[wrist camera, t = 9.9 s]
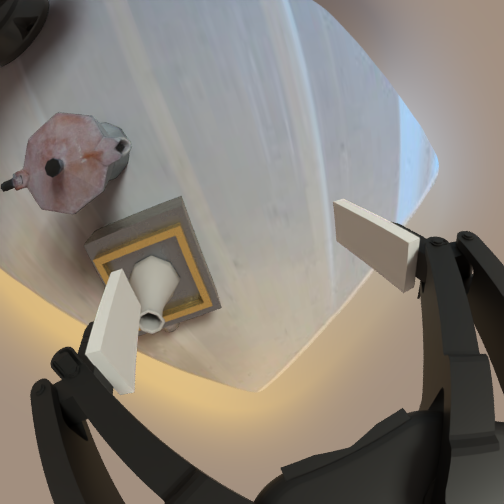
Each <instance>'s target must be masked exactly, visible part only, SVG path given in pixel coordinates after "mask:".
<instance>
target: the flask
mask: <svg viewBox="0 0 504 504" xmlns="http://www.w3.org/2000/svg"><path fill="white" fill-rule="evenodd" d="M179 281H180V277H179V276H178V274H177V272H176V271H175V269H174V268H173V266H172V265H171V263H170V262H167V261H164V260H162V259H159V258H157V257H154V256H152V255H151V256H149V257H147V258H145V259H143V260H142V261H140V262H138V263H136V264H135V265H134V267H133V269H132V272H131V275H130V277H129V280H128V282H129V284H130V286H131V288H132V290H133V291H134V293H135V295H136V297H137V299H138V301H139V303H140V305H141V312H140V321H139V328H140V329H141V330H142V331H144V332H147V333H150V334H154V333H156V332H158V331H160V330H162V327H163V325H164V323H165V319H164V318H163V317H162V314H163V309H164V307H165V305H166V304H167V302H168V301H169V300H170V298H171V297H172V296H173V294H174V292H175V289H176V287H177V285H178V283H179Z"/></svg>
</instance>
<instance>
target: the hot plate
mask: <svg viewBox="0 0 504 504" xmlns="http://www.w3.org/2000/svg"><path fill="white" fill-rule="evenodd" d="M84 247H85V249H86V251H87V253H88V255H89V257H90V259H91V261H92V263H93V265H94V267H95V269H96V271H97V273H98V275H99V276H100V278H101V280H102V282H103V284H104V285H105V287H106V285H107V282H108V279H109V277H110V274H111V272H114V271H117V270H120V269H123V271H124V273H125V275H126V277H127V279H128V280H129V277H130V275H131V272H132V269H133V267H134V265H135V264H136V263H138V262H140V261H142V260H143V259H145V258H147V257H149V256H151V255H152V256H154V257H157V258H159V259H162V260H164V261H167V262H170V263H171V265H172V266H173V268H174V269H175V271H176V272H177V274H178V276H179V277H180V281H179V283H178V285H177V287H176V289H175V292H174V294H173V296H172V297H171V298H170V300H169V301H168V302H167V304H166V305H165V307H164V309H163V314H162V317H163V318H164V319H165V323H164V325H163V327H162V328H163V329H164V331H166V332H172V331H174V330H176V329H177V328H178V327H179V324H180V322H183V321H185V320H188V319H191V318H194V317H197V316H200V315H203V314H206V313H209V312H211V311H214V310H217V309H220V308H222V307H221V304H220V300H219V297H218V293H217V290H216V287H215V284H214V282H213V279H212V277H211V274H210V272H209V269H208V267H207V264H206V261H205V259H204V256H203V254H202V251H201V248H200V246H199V243H198V240H197V238H196V235H195V232H194V230H193V227H192V224H191V221H190V219H189V216H188V213H187V210H186V207H185V205H184V202H183V199H182V196H180V197H177V198H174V199H172V200H169V201H166V202H164V203H161V204H159V205H156V206H153V207H151V208H148V209H146V210H143V211H141V212H138V213H136V214H133V215H131V216H129V217H126V218H124V219H121V220H119V221H117V222H114V223H112V224H110V225H107V226H105V227H103V228H101V229H98V230H96V231H94V233H93V234H92V235H91V237H90V238H89V239H88V241H87V242H86V243H85V245H84ZM146 333H147V332H144V331H142V330H141V329H140V328H139V330H138V336H140V335H143V334H146Z"/></svg>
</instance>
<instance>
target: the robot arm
mask: <svg viewBox="0 0 504 504" xmlns="http://www.w3.org/2000/svg"><path fill="white" fill-rule="evenodd" d="M48 10H49V2H48V0H0V66H3V65H6V64H8V63H9V62H11V61H13V60H14V59H15V58H17V57H18V56H19V55H20V54H21V53H22V52H23V51H24V50H25V49H26V48H27V47H28V46H29V45H30V44H31V43H32V41H33V40H34V39H35V37H36V36H37V35H38V33H39V32H40V30H41V28H42V26H43V24H44V22H45V20H46V18H47V15H48ZM333 206H334V216H335V227H336V239H337V242H339V243H340V244H341V245H343V246H344V247H345V248H347V249H348V250H349V251H351V252H352V253H353V254H355V255H356V256H357V257H359V258H360V259H361V260H363V261H364V262H365V263H366V264H368V265H369V266H370V267H372V268H373V269H374V270H376V271H377V272H378V273H379V274H381V275H382V276H383V277H384V278H386V279H387V280H388V281H389V282H391V283H392V284H393V285H394V286H396V287H397V288H398V289H399V290H401V291H402V292H403V293H404V292H406V291H408V290H410V289H411V288H413V287H414V284H415V277H417V278H418V279H420V280H421V281H420V287H419V293H418V299H419V298H420V296H421V307H422V321H423V349H424V365H423V367H424V368H423V393H422V401H421V405H420V408H419V411H414V412H410V413H406V411H405V410H404V409H403V408H402V409H400V410H399V411H397V412H396V413H394V414H392V415H391V416H389V417H388V418H386V419H384V420H383V421H381V422H379V423H378V424H376V425H375V426H374V427H373V428H372V429H371V430H370V431H369V432H368V433H367V434H365V435H364V436H363V437H362V438H361V439H360V440H358V441H357V442H356V443H355V444H354V445H352V446H351V447H349V448H345V449H341V450H337V451H333V452H328V453H323V454H318V455H313V456H311V457H308V458H306V459H303V460H301V461H298V462H295V463H293V464H290V465H287V466H284V467H281V470H282V473H283V474H281V475H279V476H278V477H276V478H275V479H274V480H272V481H271V482H270V483H269V484H267V485H266V486H265V487H264V489H263V490H262V491H261V492H260V493H259V495H258V496H257V497H256V499H255V501H254V502H253V501H251V500H249V499H247V498H245V497H243V496H242V495H240V494H238V493H236V492H234V491H233V490H231V489H229V488H227V487H226V486H224V485H222V484H221V483H219V482H218V481H216V480H214V479H213V478H211V477H209V476H208V475H207V474H205V473H204V472H202V471H201V470H199V469H198V468H197V467H195V466H193V465H192V464H191V463H189V462H188V461H187V460H185V459H184V458H183V457H181V456H180V455H179V454H177V453H176V452H175V451H173V450H172V449H171V448H170V447H168V446H167V445H166V444H165V443H163V442H162V441H161V440H160V439H159V438H158V437H156V436H155V435H154V434H153V433H152V432H151V431H149V430H148V429H147V428H146V427H145V426H144V425H143V424H142V423H141V422H140V421H138V420H137V419H136V418H135V417H134V416H133V415H132V414H131V413H130V412H129V411H128V410H127V409H126V408H125V407H124V406H123V405H122V404H121V403H120V402H119V401H118V400H117V399H116V398H115V397H114V396H113V388H114V389H115V390H116V391H117V392H118V393H119V394H120V395H123V394H128V393H133V392H135V370H136V353H137V341H138V330H139V321H140V312H141V305H140V303H139V301H138V299H137V297H136V295H135V293H134V291H133V290H132V288H131V286H130V284H129V282H128V279H127V277H126V275H125V273H124V271H123V269H120V270H117V271H114V272H111V274H110V277H109V279H108V282H107V285H106V288H105V291H104V293H103V296H102V299H101V302H100V305H99V308H98V311H97V314H96V318H95V321H94V322H90V323H89V325H88V326H87V328H86V329H85V331H84V334H83V339H82V341H81V345H80V347H79V351H78V354H77V353H76V352H75V350H74V349H73V348H71V347H65V348H62V349H60V350H59V351H58V352H57V353H56V354H55V355H54V356H53V358H52V360H51V368H52V369H53V370H54V371H55V372H56V374H57V375H58V376H59V377H60V378H61V379H62V380H61V381H59V382H57V383H55V384H52V383H51V382H50V381H49V380H47V379H40V380H39V381H37V382H36V383H35V384H34V385H33V387H32V390H31V394H30V396H31V406H32V414H33V422H34V428H35V434H36V439H37V444H38V449H39V454H40V458H41V462H42V466H43V470H44V473H45V477H46V480H47V484H48V487H49V490H50V493H51V496H52V499H53V501H54V504H125V502H124V501H123V499H122V498H121V496H120V494H119V492H118V490H117V488H116V487H115V485H114V483H113V481H112V479H111V478H110V475H109V473H108V471H107V469H106V467H105V465H104V463H103V461H102V459H101V456H100V454H99V452H98V450H97V447H96V445H95V442H94V440H93V438H92V435H91V433H90V430H89V427H88V424H87V422H86V419H89V420H90V422H91V423H92V424H93V426H94V427H95V428H96V430H97V431H98V432H99V434H100V435H101V436H102V437H103V439H104V440H105V441H106V442H107V443H108V445H109V446H110V447H111V448H112V449H113V450H114V451H115V453H116V454H117V455H118V456H119V457H120V458H121V459H122V461H123V462H124V463H125V464H126V465H127V466H128V467H129V468H130V469H131V470H132V471H133V472H134V473H135V474H136V475H137V476H138V477H139V478H140V479H141V480H142V481H143V482H144V483H145V484H146V485H147V486H148V487H149V488H150V489H152V490H153V491H154V492H155V493H156V494H157V495H158V496H159V497H160V498H161V499H163V500H164V502H165V504H504V422H497V421H495V414H494V397H493V386H492V377H491V370H490V364H489V359H488V356H487V355H486V354H480V353H479V348H478V342H477V338H476V332H475V327H476V329H477V331H478V333H479V335H480V337H481V339H482V341H483V344H484V346H485V348H486V350H487V352H488V355H489V357H490V360H491V362H492V365H493V367H494V370H495V373H496V375H497V378H498V381H499V383H500V386H501V388H502V391H503V393H504V266H503V264H502V263H501V262H500V261H499V259H498V258H497V257H496V256H495V255H494V254H493V252H491V250H490V249H489V248H488V247H487V246H486V245H485V244H484V243H483V242H482V240H481V239H480V238H479V237H478V236H476V235H475V234H474V233H471V232H470V231H469V232H468V231H461V232H459V233H458V234H457V240H456V242H451V243H449V242H448V241H447V240H445V239H444V238H441V237H430V238H428V239H426V238H424V237H423V236H421V235H419V234H417V233H415V232H413V231H411V230H410V229H408V228H406V227H404V226H402V225H400V224H398V223H394V222H390V221H388V220H386V219H384V218H382V217H380V216H378V215H376V214H374V213H372V212H370V211H368V210H366V209H364V208H362V207H359V206H357V205H355V204H353V203H351V202H349V201H347V200H345V199H341V200H337V201H334V202H333ZM472 271H473V272H474V273H473V274H472ZM474 325H475V327H474Z"/></svg>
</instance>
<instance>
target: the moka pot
mask: <svg viewBox="0 0 504 504" xmlns="http://www.w3.org/2000/svg"><path fill="white" fill-rule="evenodd" d="M131 148H132V146H131V142H130V140H128V139H127V137H126V135H125V134H124V132H123V131H122V129H121V128H119V127H117V126H114V125H112V124H109V123H105V122H104V123H101V124H100V123H99V122H98V121H97V120H96V119H95V118H94V117H93V116H89V115H80V114H70V113H59V112H58V113H56V114H55V115H54V116H53V117H52V118H50V119H49V120H48V121H47V122H46V123H45V124H44V125H43V126H42V127H40V128H39V129H38V130H37V131H36V132H35V133H34V134H33V135H32V136H31V137H30V138H29V140H28V144H27V149H26V155H25V162H24V167H23V169H22V170H21V171H18V172H16V173H14V174H13V178H12V179H10V180H8V181H6V182H4V183H3V184H1V189H2V190H3V192H4V191H8V190H10V189H13V188H15V189H16V190H20V189H22V188H26V187H27V188H28V190H29V191H30V192H31V194H32V196H33V197H34V199H35V200H36V202H37V203H38V205H39V206H40V208H41V209H43V210H49V211H55V212H61V213H67V214H76V213H77V212H78V211H79V210H81V209H82V208H83V207H84V206H85V205H87V204H88V203H89V202H90V201H92V200H93V199H94V198H95V197H97V196H98V195H99V194H100V193H102V192H103V191H104V190H105V187H106V185H107V183H108V181H109V180H111V179H115V178H116V177H117V176H118V175H119V174H120V173H121V171H122V170H123V169H124V168H125V166H126V165H127V163H128V159H129V152H130V150H131Z"/></svg>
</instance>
